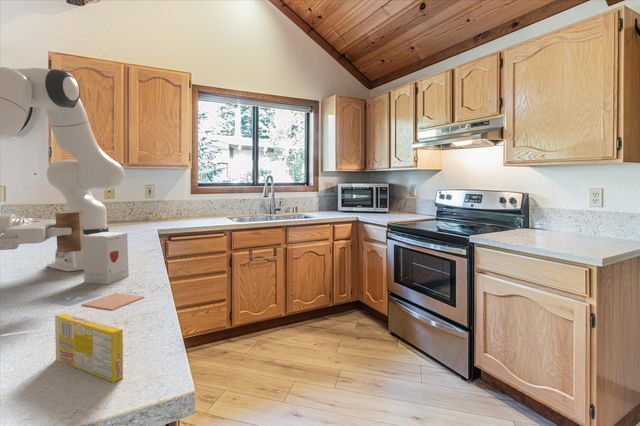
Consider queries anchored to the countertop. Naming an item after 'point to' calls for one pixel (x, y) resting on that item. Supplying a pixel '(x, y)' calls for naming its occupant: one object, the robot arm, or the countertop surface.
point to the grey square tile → (72, 298)
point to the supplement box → (105, 257)
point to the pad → (113, 301)
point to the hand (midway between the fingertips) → (74, 229)
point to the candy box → (89, 346)
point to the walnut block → (76, 238)
